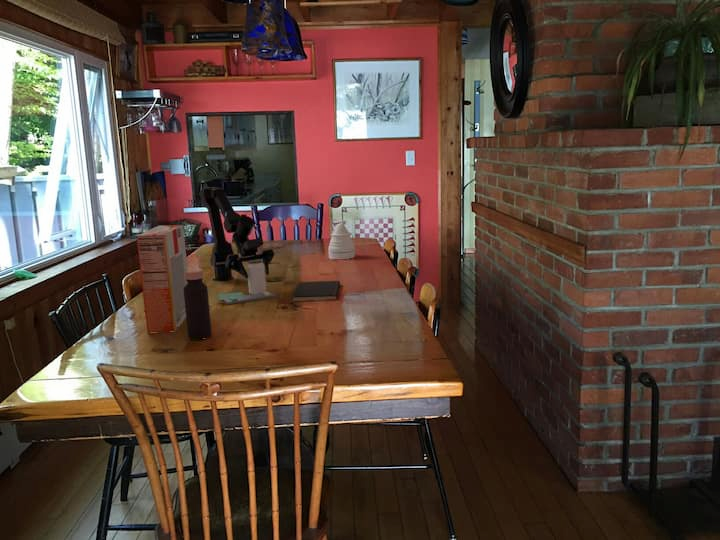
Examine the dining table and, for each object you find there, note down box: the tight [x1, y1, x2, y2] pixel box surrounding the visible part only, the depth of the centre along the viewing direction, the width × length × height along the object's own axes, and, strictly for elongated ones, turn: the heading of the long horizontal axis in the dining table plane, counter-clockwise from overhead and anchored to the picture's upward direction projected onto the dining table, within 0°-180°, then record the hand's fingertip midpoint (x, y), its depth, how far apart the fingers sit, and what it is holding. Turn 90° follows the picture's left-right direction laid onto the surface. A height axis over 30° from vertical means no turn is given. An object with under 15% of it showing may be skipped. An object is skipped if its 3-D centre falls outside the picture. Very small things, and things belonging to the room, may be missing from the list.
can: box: [246, 260, 267, 295], centre depth 227 cm, size 6×6×12 cm
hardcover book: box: [291, 280, 341, 302], centre depth 225 cm, size 16×23×2 cm
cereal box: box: [136, 224, 189, 334], centre depth 191 cm, size 23×8×30 cm, turn 2°
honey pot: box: [327, 220, 356, 260], centre depth 292 cm, size 13×13×18 cm
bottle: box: [183, 268, 213, 340], centre depth 175 cm, size 7×7×20 cm
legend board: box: [223, 290, 277, 305], centre depth 219 cm, size 18×6×1 cm, turn 116°
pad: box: [217, 291, 245, 302], centre depth 224 cm, size 9×9×1 cm
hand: (258, 276), depth 226 cm, fingers open, 8 cm apart
